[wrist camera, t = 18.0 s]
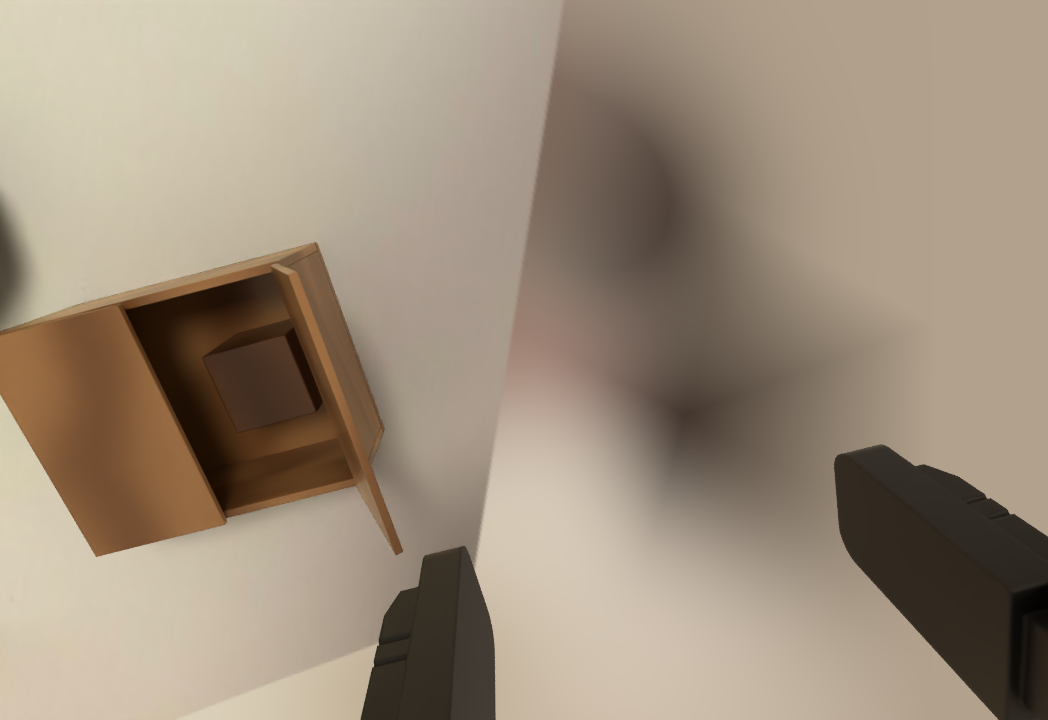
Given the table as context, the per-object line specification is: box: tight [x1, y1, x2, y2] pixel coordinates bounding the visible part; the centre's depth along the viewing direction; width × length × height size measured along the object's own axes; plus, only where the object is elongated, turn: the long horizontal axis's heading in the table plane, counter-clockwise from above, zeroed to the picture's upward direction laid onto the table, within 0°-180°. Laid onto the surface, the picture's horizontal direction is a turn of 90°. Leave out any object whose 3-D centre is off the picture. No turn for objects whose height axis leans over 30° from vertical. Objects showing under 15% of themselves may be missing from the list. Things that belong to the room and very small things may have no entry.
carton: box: [0, 242, 384, 557], centre depth 28 cm, size 13×11×7 cm
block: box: [202, 319, 323, 433], centre depth 29 cm, size 4×4×4 cm
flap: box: [270, 263, 403, 555], centre depth 23 cm, size 6×11×1 cm
